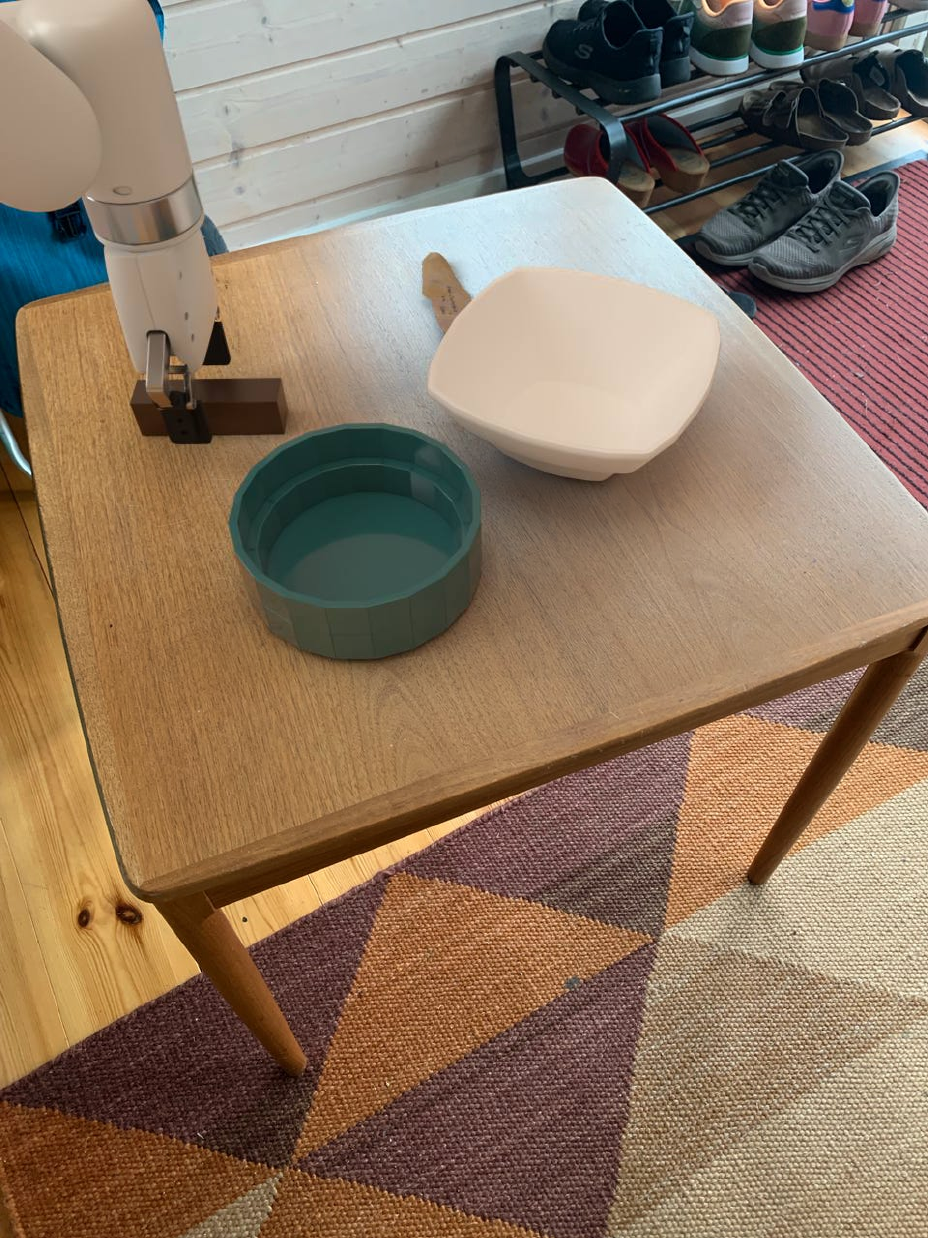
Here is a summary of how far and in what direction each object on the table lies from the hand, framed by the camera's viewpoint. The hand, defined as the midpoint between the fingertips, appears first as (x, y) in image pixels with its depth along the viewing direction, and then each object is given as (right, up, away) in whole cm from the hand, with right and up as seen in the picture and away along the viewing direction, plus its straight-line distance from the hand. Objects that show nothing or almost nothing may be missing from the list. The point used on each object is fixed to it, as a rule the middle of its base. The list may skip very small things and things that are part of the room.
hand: (203, 400), depth 76 cm
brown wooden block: (0, -1, +2) cm, 3 cm away
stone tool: (+20, +12, +12) cm, 26 cm away
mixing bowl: (+14, -14, -7) cm, 21 cm away
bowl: (+30, -3, +1) cm, 30 cm away
